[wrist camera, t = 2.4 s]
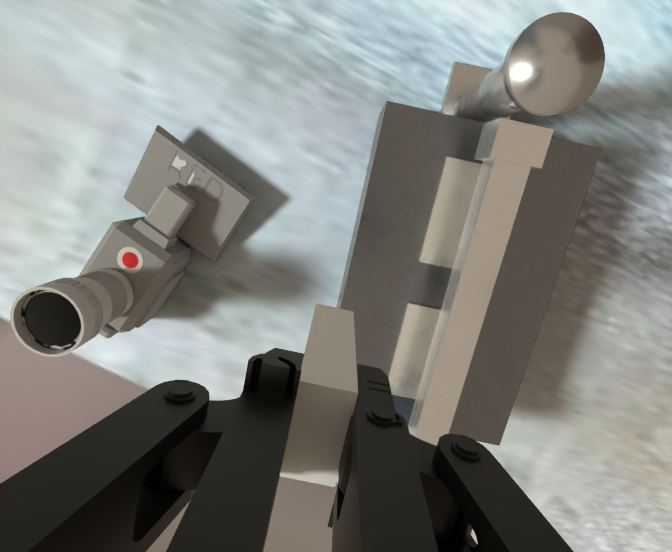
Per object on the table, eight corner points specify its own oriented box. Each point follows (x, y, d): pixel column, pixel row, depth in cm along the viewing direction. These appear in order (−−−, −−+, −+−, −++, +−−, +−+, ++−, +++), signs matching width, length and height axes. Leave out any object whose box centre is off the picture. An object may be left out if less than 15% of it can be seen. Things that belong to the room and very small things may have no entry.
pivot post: (452, 64, 32) (521, -7, 19) (517, 78, 32) (627, 18, 20) (435, 133, 33) (489, 108, 21) (498, 147, 33) (589, 131, 21)
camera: (-46, 322, 25) (82, 102, 22) (76, 277, 36) (170, 128, 34) (84, 405, 26) (221, 205, 23) (163, 335, 37) (261, 196, 35)
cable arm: (480, 123, 25) (497, 116, 22) (534, 135, 25) (557, 130, 22) (386, 465, 30) (390, 494, 27) (430, 474, 30) (439, 504, 27)
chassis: (379, 113, 33) (387, 100, 27) (556, 153, 33) (604, 148, 27) (322, 372, 38) (317, 411, 32) (475, 404, 38) (501, 448, 32)
